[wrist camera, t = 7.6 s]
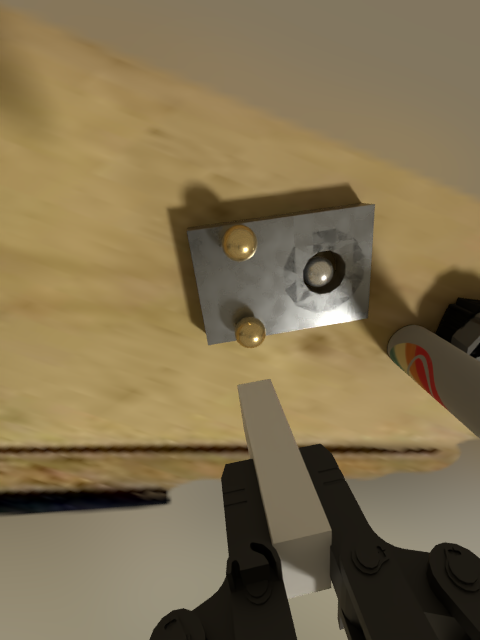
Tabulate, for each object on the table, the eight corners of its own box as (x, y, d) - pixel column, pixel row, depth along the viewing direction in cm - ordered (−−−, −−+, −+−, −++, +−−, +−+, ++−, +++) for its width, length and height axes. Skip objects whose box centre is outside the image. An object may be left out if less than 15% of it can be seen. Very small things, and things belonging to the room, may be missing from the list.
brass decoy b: (223, 259, 29) (225, 267, 26) (218, 225, 28) (220, 229, 25) (255, 255, 29) (262, 262, 26) (252, 220, 28) (258, 224, 25)
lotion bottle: (381, 362, 40) (536, 511, 21) (392, 323, 37) (577, 451, 19) (420, 362, 40) (601, 505, 22) (433, 324, 38) (648, 447, 20)
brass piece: (234, 341, 33) (238, 356, 30) (231, 314, 31) (234, 327, 28) (263, 336, 33) (270, 350, 30) (261, 309, 32) (267, 322, 29)
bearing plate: (207, 334, 35) (208, 345, 32) (187, 227, 30) (186, 231, 27) (357, 309, 36) (367, 318, 34) (361, 203, 31) (374, 204, 29)
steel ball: (310, 280, 34) (297, 289, 32) (309, 252, 33) (296, 259, 31) (338, 282, 32) (326, 292, 30) (338, 253, 31) (326, 261, 29)
